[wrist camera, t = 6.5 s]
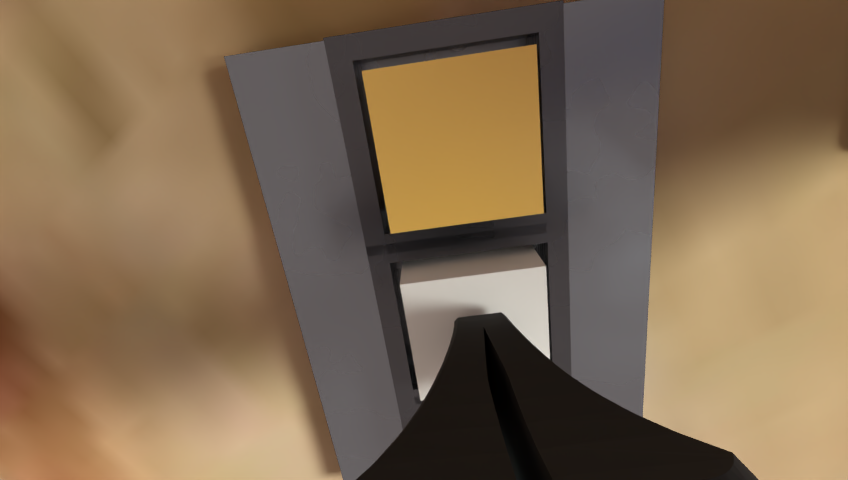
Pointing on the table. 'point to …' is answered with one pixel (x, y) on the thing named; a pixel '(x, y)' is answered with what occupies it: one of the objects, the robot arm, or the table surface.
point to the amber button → (458, 138)
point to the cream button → (471, 300)
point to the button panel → (384, 252)
